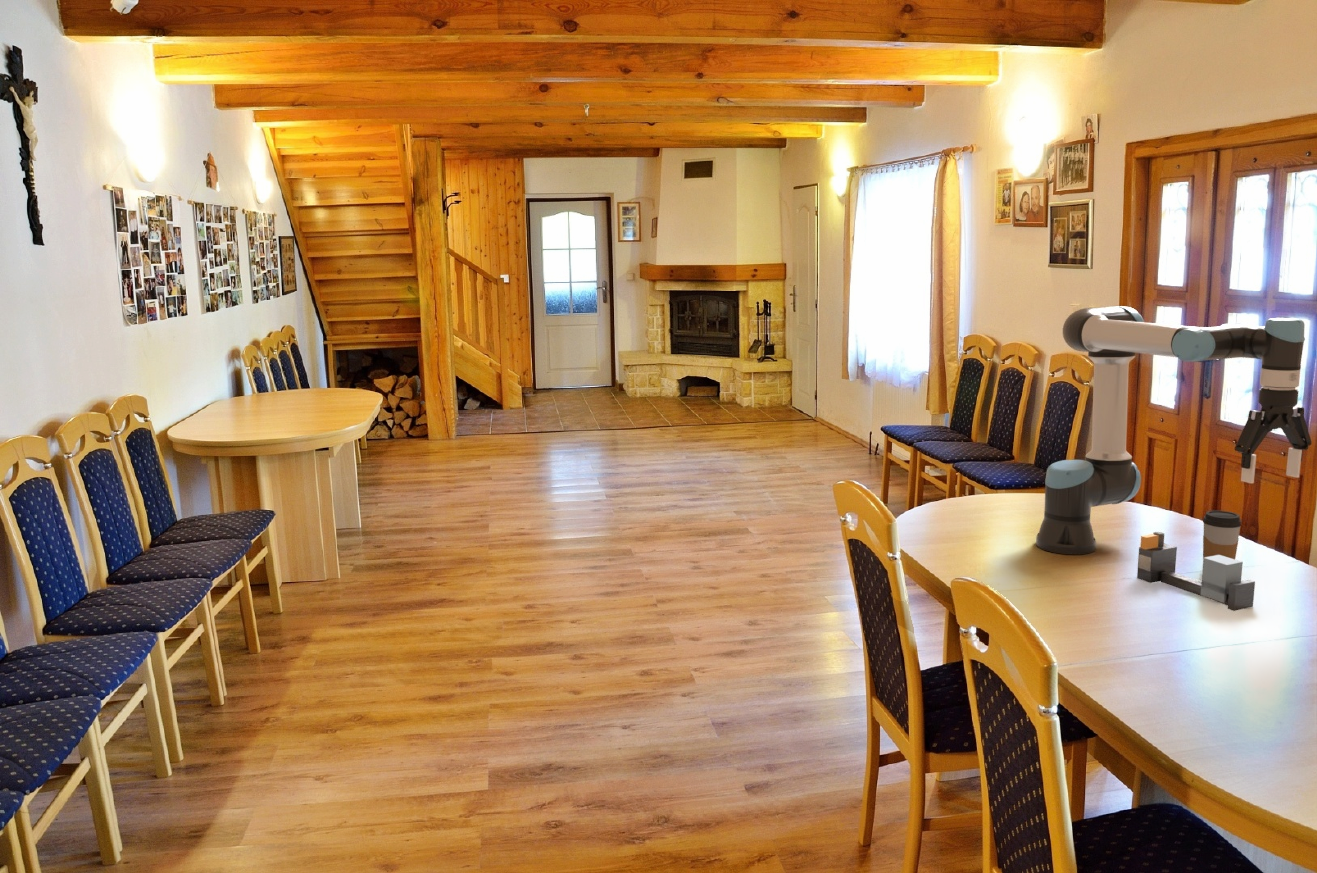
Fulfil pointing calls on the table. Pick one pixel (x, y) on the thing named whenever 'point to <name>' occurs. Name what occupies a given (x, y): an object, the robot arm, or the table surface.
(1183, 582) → the rail
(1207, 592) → the block
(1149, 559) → the end cabinet
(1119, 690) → the table surface
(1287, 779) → the table surface
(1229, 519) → the coffee cup
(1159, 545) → the lever
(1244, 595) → the square post base
